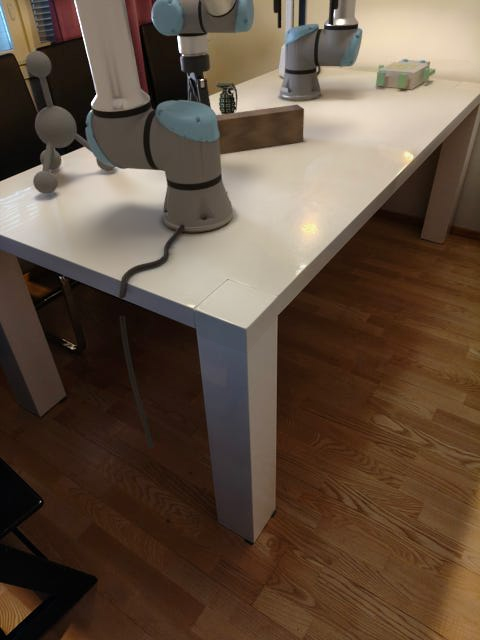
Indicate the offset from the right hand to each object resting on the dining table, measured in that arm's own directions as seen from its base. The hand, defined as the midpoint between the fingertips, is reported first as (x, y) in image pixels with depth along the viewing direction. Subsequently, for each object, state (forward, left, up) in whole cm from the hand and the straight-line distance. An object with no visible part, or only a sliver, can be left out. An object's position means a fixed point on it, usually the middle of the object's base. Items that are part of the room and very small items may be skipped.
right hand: (305, 26), depth 129 cm
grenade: (-26, -25, -29) cm, 47 cm away
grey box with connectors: (-65, +41, -29) cm, 83 cm away
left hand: (+11, -28, -25) cm, 39 cm away
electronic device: (-83, -1, -29) cm, 88 cm away
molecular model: (+27, -60, -29) cm, 72 cm away
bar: (+6, -16, -29) cm, 34 cm away
